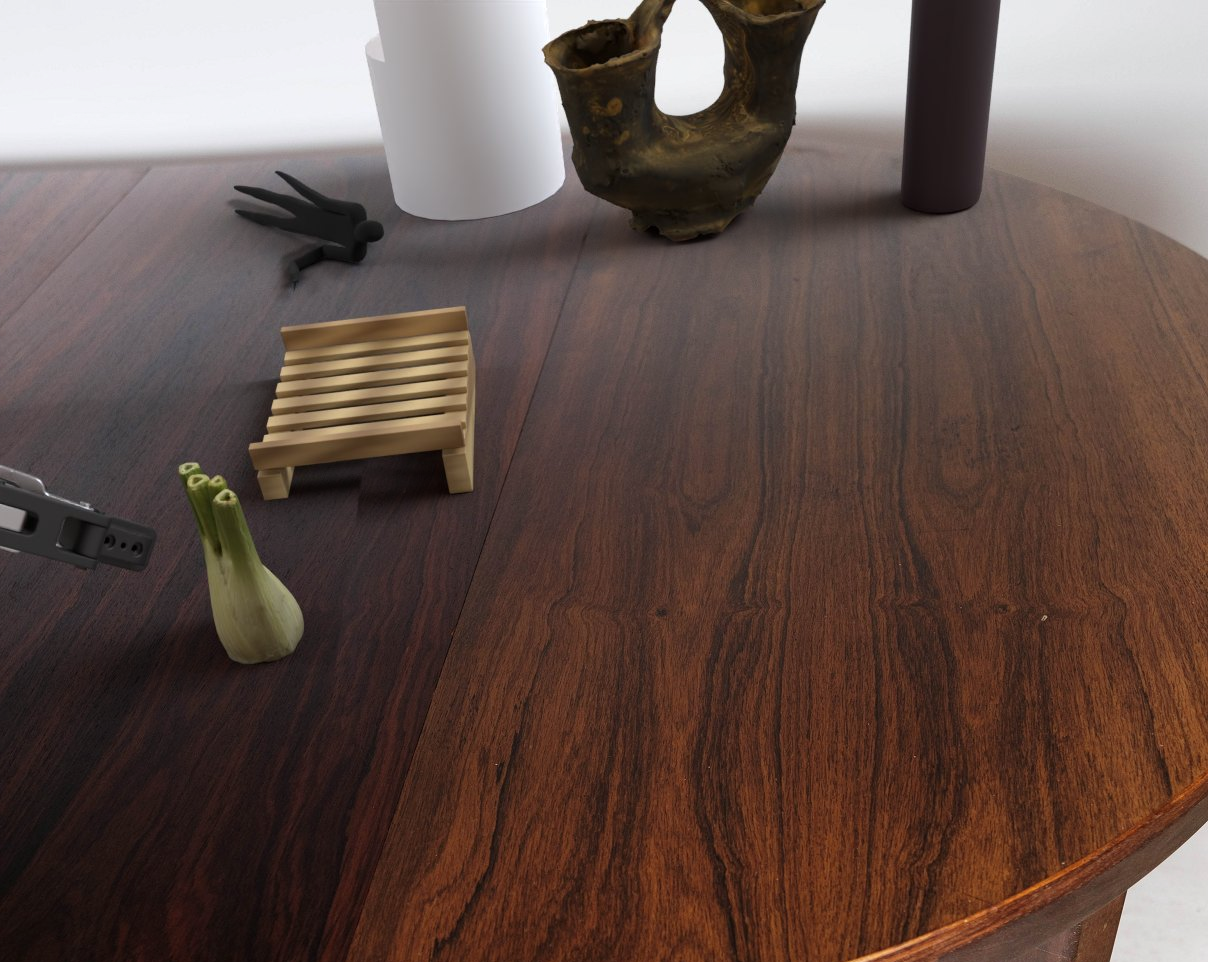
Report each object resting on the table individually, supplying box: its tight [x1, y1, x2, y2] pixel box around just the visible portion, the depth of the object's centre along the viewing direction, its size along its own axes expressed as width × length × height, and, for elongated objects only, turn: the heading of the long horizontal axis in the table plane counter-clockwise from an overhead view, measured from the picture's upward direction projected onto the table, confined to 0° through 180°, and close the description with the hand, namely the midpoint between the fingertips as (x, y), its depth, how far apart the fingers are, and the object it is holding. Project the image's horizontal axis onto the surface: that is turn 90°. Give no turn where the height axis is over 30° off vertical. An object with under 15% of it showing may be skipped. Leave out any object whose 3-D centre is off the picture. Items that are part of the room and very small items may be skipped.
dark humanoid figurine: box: [233, 170, 385, 293], centre depth 120 cm, size 8×9×25 cm
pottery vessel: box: [542, 0, 827, 242], centre depth 112 cm, size 25×11×20 cm, turn 112°
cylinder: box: [364, 0, 566, 222], centre depth 121 cm, size 17×17×28 cm
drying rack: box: [248, 305, 477, 501], centre depth 93 cm, size 14×18×5 cm
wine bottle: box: [900, 0, 1002, 214], centre depth 107 cm, size 7×7×30 cm
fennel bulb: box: [177, 462, 305, 665], centre depth 73 cm, size 6×5×12 cm
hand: (92, 526), depth 64 cm, fingers open, 8 cm apart
